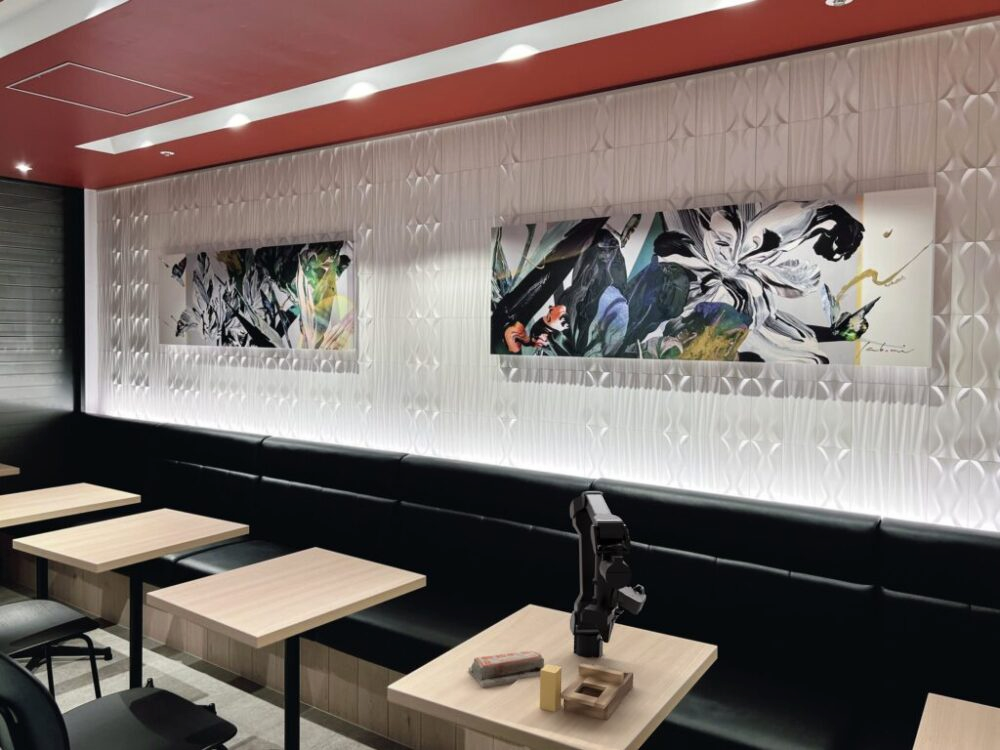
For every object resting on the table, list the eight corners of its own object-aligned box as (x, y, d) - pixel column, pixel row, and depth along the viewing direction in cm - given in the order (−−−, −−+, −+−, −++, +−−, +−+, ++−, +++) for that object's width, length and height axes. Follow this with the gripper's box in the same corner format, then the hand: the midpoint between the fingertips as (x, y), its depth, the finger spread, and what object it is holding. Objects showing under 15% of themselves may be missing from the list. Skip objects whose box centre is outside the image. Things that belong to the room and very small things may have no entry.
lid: (559, 698, 168) (560, 685, 168) (581, 674, 180) (581, 662, 180) (604, 708, 164) (604, 695, 164) (623, 684, 175) (623, 671, 175)
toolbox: (563, 712, 170) (563, 694, 170) (591, 680, 186) (592, 664, 186) (607, 723, 166) (607, 705, 166) (632, 689, 182) (633, 672, 182)
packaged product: (482, 669, 181) (468, 653, 191) (482, 690, 182) (467, 672, 191) (553, 658, 188) (536, 643, 197) (552, 678, 188) (535, 662, 198)
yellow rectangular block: (539, 711, 171) (540, 670, 170) (546, 704, 174) (546, 664, 174) (554, 715, 169) (555, 673, 169) (560, 708, 173) (561, 667, 172)
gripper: (629, 592, 166) (628, 664, 167) (653, 569, 183) (652, 634, 184) (580, 584, 171) (578, 654, 172) (608, 562, 188) (606, 626, 189)
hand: (606, 642), depth 179 cm, fingers closed
